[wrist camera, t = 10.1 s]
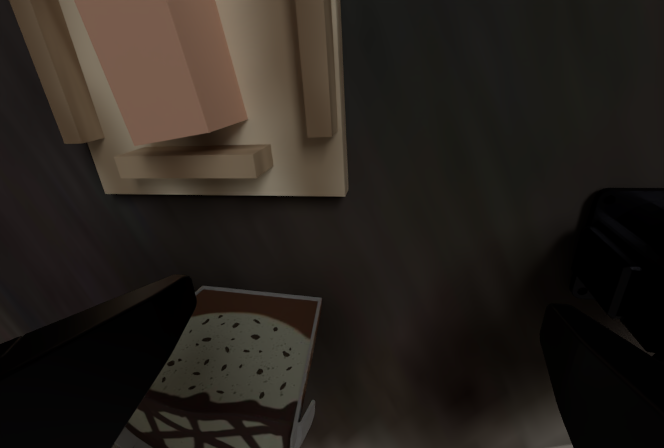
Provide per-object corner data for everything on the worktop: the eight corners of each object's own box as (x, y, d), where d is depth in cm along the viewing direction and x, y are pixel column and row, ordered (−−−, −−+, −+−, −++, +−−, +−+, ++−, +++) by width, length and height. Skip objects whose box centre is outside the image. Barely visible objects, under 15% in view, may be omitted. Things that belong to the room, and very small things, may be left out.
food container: (200, 344, 29) (106, 470, 20) (184, 283, 26) (68, 397, 17) (344, 364, 26) (311, 518, 17) (343, 300, 24) (303, 442, 15)
